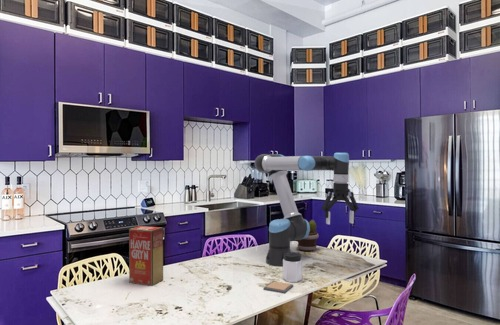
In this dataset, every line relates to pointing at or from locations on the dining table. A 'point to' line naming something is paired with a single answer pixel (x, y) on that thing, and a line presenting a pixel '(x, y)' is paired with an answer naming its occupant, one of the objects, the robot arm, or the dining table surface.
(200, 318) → the dining table surface
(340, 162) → the robot arm
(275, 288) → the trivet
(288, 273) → the jar
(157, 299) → the dining table surface
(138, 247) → the food packaging
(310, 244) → the flowerpot
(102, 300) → the dining table surface
